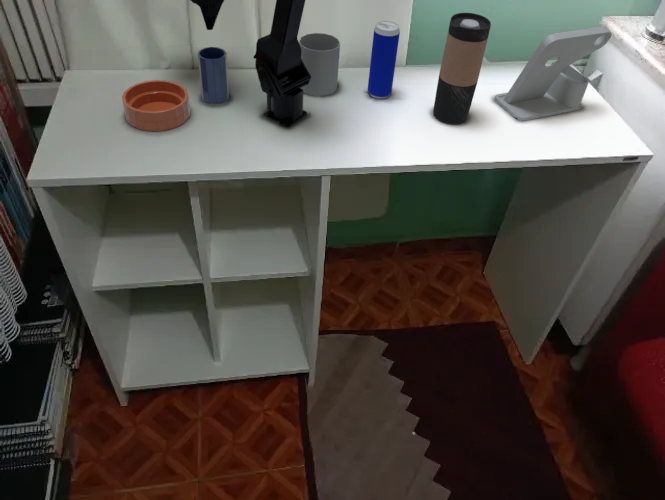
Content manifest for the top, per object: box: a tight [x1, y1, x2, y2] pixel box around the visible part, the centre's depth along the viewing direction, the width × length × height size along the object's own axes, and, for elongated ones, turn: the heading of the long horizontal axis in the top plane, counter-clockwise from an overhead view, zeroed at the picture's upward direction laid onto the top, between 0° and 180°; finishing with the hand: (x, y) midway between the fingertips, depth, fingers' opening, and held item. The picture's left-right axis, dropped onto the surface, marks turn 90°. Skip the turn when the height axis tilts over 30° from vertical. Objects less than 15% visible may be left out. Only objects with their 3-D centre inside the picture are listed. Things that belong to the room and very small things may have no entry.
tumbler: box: [197, 46, 230, 105], centre depth 123 cm, size 5×5×10 cm
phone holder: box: [494, 25, 613, 122], centre depth 127 cm, size 17×10×18 cm, turn 113°
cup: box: [298, 32, 341, 97], centre depth 129 cm, size 8×8×10 cm
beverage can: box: [367, 20, 401, 100], centre depth 127 cm, size 5×5×15 cm
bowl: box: [121, 79, 191, 132], centre depth 119 cm, size 12×12×4 cm
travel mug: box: [432, 12, 492, 125], centre depth 120 cm, size 8×8×20 cm
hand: (208, 19), depth 123 cm, fingers open, 9 cm apart
